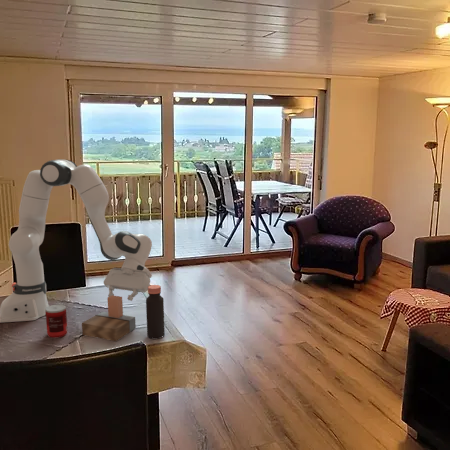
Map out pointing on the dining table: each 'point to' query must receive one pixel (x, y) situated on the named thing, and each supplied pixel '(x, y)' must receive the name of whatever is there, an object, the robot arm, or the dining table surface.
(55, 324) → the canned food
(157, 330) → the bottle
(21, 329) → the dining table surface
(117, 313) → the stub
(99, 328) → the block
